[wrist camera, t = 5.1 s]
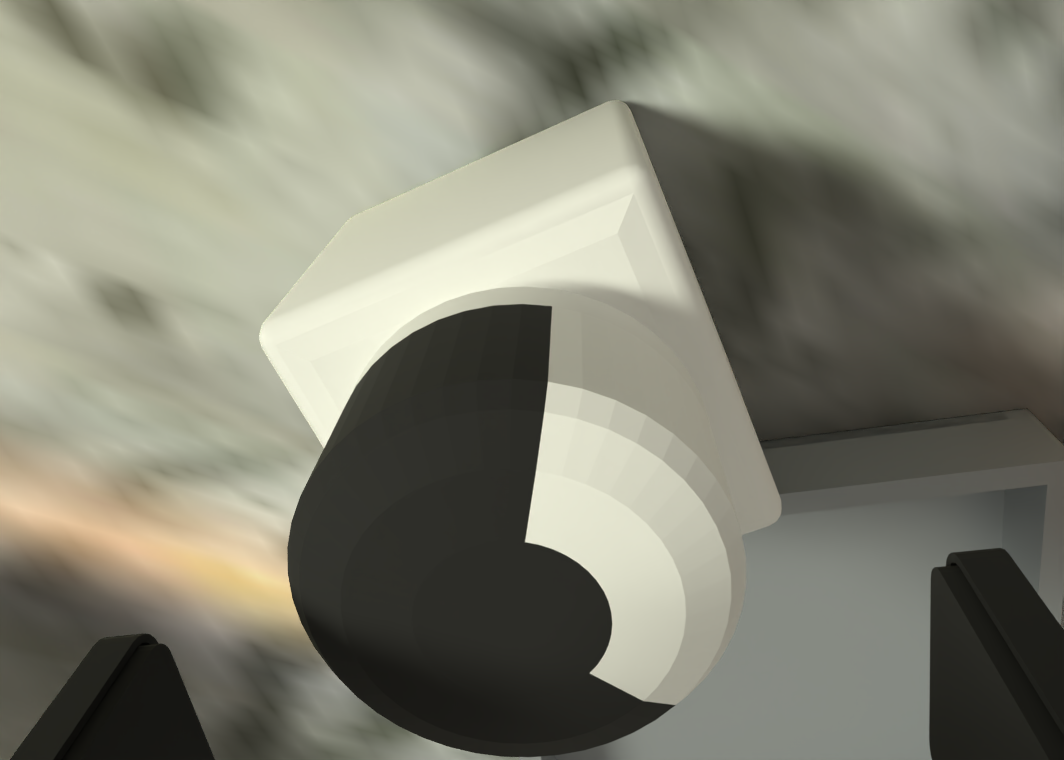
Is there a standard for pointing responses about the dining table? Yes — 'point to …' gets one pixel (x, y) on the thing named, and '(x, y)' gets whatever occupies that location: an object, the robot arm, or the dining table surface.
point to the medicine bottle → (519, 451)
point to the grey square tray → (862, 588)
